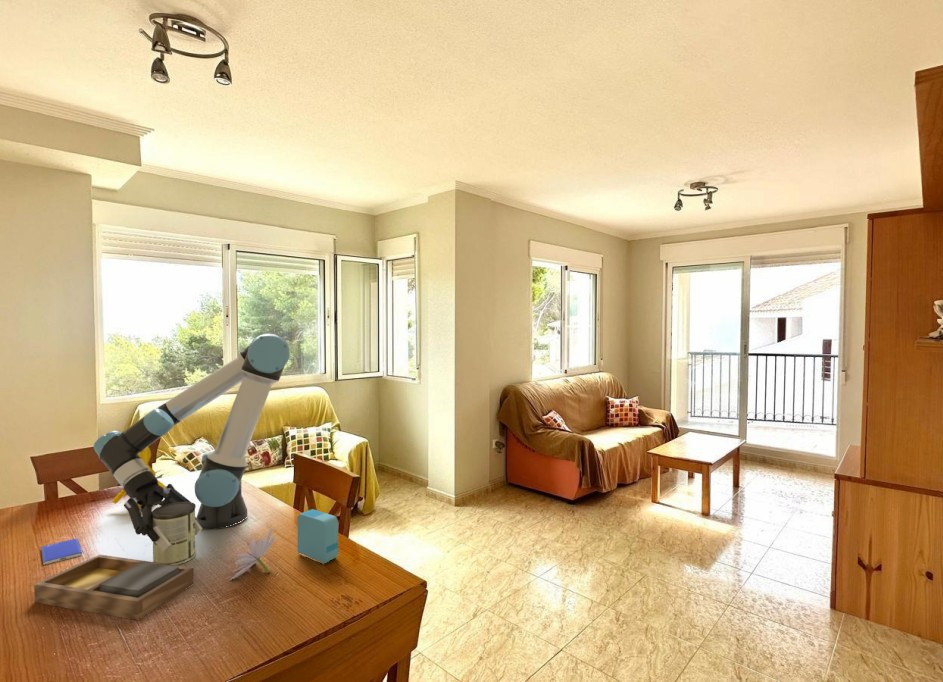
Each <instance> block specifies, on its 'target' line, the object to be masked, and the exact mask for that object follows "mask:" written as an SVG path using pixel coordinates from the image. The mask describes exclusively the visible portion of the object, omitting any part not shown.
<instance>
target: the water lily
mask: <svg viewBox="0 0 943 682" xmlns="http://www.w3.org/2000/svg"><path fill="white" fill-rule="evenodd" d="M273 529H274V528H271V529H270V530H269V532H268V533H267V534H266V536H265V538H263V535H261V536H260V538H259V539H258V541H257V542H256V541H255V540H254V539H251V540H250V542H249V545H248V550H249V552H247V553H238V554H236V555H235V557H236V558H238V559H235V562H234V563H233V564H234V565H235V564H236V565H238V566H240V567H237V568H235V570H233V571H232V573H235V572H236V574H234V575H233V576H232V577H231V578H230V580H231V581H233V580H235V579H236V578H238V577H240V576H241V575H243V574H244V573H245V572H246V571H248V570H249V569H250V568H252V567H253V566H254V564H256V563H259V564H260V565H261V566H262V567H263V569H264V570H265V572H266V573H267V572H270V573H271V571H270V570H269V568H268V567H267V566H266V564H264V562H263V561H262V560H261V558H262V557H263V556H264V555H265V554H266V552H268V550H269V549H270V548H271V546H272V545H273V543H274V541H275V540H276V536H277V535H274V536H273V537H272V534H273ZM241 565H242V566H241ZM232 579H233V580H232Z"/></svg>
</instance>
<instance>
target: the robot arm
mask: <svg viewBox="0 0 943 682" xmlns="http://www.w3.org/2000/svg"><path fill="white" fill-rule="evenodd" d="M290 352H291V351H290V347H289V344H288V343H287V341H286V340H285V339H284V338H283V337H281V336H279V335H277V334H274V333H264V334H260V335H258V336H256V337H254V338H253V340H252V341H251V342H250V343H249V345H248V346H246V347H245V348H243V349H242V350H241V351H239V352H238V355H237V357H235V358H234V359H232V360H230V361H229V362H227V363H226V364H224V365H223V366H221V367H220V368H218V369H216V370H214V371H213V372H212V373H210V374H208V375H206V377H204V378H202V379H200V380H199V381H197V382H195V384H194V383H193V384H192V385H191V386H190V387H188V388H187V389H185V390H183V391H182V392H180V393H178V394H177V395H175V396H174V397H172V398H171V399H169V400H168V401H166V402H165V403H163V404H161V405H159V406H158V407H156V408H154V409H152V410H151V411H149V412H147V413H146V414H145V415H144V416H143V417H141V418H140V419H139V420H137V421H136V422H135V423H133V424H132V425H130V426H129V428H127V429H126V430H124V431H122V432H121V431H119V430H113V431H109V432H106V434H103V435H101V436H100V437H98V439H96V440H95V442H94V443H93V450H94V451H95V453H96V454H97V456H98V459H99V460H100V461H101V462H102V463H103V464H104V465H105V467H106V468H107V469H108V470H109V472H110V473H111V474H112V476H113V477H114V479H115V480H116V482H118V484H119V485H120V486H121V487H122V488H124V490H125V492H126V495H128V497H129V498H128V499H127V501H126V502H124V504H123V507H124V509H126V510H127V512H128V516H129V518H130V519H131V523H132V527H133V529H134V532H135V534H136V536H137V535H142V536H144V537H145V536H148V538H149V539H150V540H151V542H152V543H153V542H156V544H157V545H158V546H159V548H160V549H161V550H162V552H165V551H166V550H167V549H168V548H169V547H170V546H171V544H170V542H169V541H168V540H167V538H166V537H165V536H164V534H163V533H162V532H161V531H160V529H159V528H158V527H157V526H155V527H154V528H153V517H152V511H153V507H155V506H159V507H160V506H163V505H166V504H170V503H176V502H191V501H190V500H189V499H188V498H187V497H185V496H184V495H183V494H182V493H180V492H179V491H178V490H176V488H175V487H174V485H173V484H171V483H168V484H167V485H165V486H166V487H161V486H159V485H158V481H159V480H158V478H157V477H156V475H155V476H154V474H153V473H152V472H151V471H149V468H148V467H147V465H146V464H145V463H144V462H143V460H142V459H141V458H140V457H139V455H138V454H139V453H140V452H142V451H143V450H144V449H145V448H147V447H149V446H151V445H152V444H154V443H155V442H157V441H158V440H159V439H160V438H162V437H163V436H164V435H166V434H167V433H168V432H169V431H171V429H173V428H174V427H175V426H176V425H177V424H179V423H180V422H182V421H183V420H185V419H187V418H189V416H191V415H192V414H194V413H197V411H199V410H200V409H202V408H203V407H205V406H207V405H208V404H209V403H211V402H213V401H214V400H216V399H217V398H219V397H221V396H223V395H224V394H225V393H227V392H229V391H230V390H231V389H233V388H234V387H236V386H238V385H239V384H240V385H239V388H238V390H237V393H236V396H235V398H234V401H233V402H232V403H233V404H232V406H231V408H230V412H229V414H228V416H227V419H226V422H225V424H224V427H223V429H222V432H221V434H220V436H219V439H218V441H217V445H216V447H215V449H214V451H209V452H206V453H204V454H202V457H201V471H200V473H199V475H198V478H196V481H195V482H194V494H195V497H196V499H197V500H198V502H199V503H200V506H199V509H198V512H197V515H196V516H195V536H197V535H199V533H200V532H201V531H202V530H203V529H204V530H205V529H206V530H215V529H214V528H219V529H222V528H221V527H225V528H227V527H226V526H229V527H231V526H230V525H233V524H235V523H238V522H240V521H242V520H243V519H245V518H246V517H247V518H248V508H247V506H246V502H245V500H244V497H243V495H242V493H243V491H242V488H243V487H242V478H243V475H244V474H245V470H246V469H247V466H248V462H247V461H246V458H245V456H246V453H247V452H248V449H249V446H250V443H251V442H252V441H251V440H252V438H253V436H254V433H255V430H256V427H257V425H258V422H259V420H260V417H261V414H262V413H263V409H264V407H265V404H266V401H267V399H268V396H269V394H270V391H271V389H272V386H273V385H274V384H276V383H278V382H279V381H280V379H281V376H282V375H283V374H282V373H283V371H284V369H285V366H286V365H287V364H288V362H289V359H290ZM132 498H133V499H132ZM137 504H139V505H141V508H139V507H138V505H137ZM247 518H246V519H247ZM246 519H245V520H246ZM233 526H234V525H233Z"/></svg>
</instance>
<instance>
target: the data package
mask: <svg viewBox="0 0 943 682" xmlns="http://www.w3.org/2000/svg"><path fill="white" fill-rule="evenodd" d="M296 527H297V528H296V529H297V553H298V554H299V553H301V554H304V555H306V556H308V557H310V558H312V559H315V560H317V561H320V562H322V563H326V564H328V563H330V562H331V561H330V560H332V559H334V558H336V557H337V558H338V556H339V520H338V518H337V516H335V515H332V514H330V513H326V512H323V511H320V510H316V509H313V508H312V509H309V510H306V511H304V512H301V513H299V514H298V515H297V526H296ZM337 558H336V559H337ZM334 560H335V559H334ZM329 561H330V562H329ZM332 561H333V560H332ZM327 562H328V563H327Z"/></svg>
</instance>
